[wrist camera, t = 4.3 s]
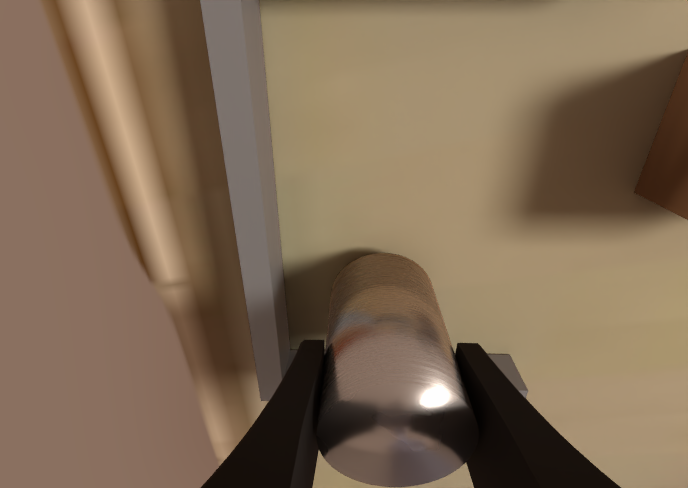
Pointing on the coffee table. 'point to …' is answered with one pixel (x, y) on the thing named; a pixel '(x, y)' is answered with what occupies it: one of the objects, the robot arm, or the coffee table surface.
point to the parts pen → (259, 184)
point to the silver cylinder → (391, 379)
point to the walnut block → (669, 154)
